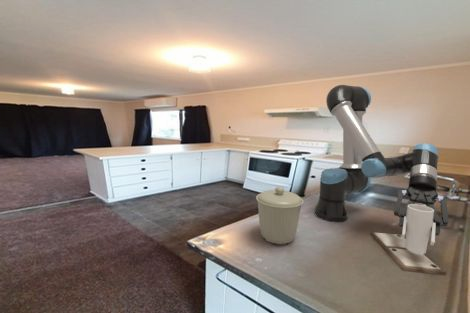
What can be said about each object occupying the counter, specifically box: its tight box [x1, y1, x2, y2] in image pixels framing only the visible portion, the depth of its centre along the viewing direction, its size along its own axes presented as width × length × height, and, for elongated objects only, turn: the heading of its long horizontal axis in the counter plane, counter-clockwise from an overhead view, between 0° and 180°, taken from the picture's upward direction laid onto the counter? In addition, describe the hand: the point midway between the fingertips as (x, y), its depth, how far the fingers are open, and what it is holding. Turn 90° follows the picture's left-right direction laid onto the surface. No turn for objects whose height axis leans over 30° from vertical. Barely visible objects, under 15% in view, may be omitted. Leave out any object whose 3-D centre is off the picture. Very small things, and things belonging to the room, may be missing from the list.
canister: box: [255, 186, 304, 245], centre depth 86 cm, size 18×18×21 cm
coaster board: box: [369, 231, 447, 275], centre depth 79 cm, size 12×23×2 cm, turn 171°
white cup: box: [405, 203, 434, 254], centre depth 71 cm, size 7×7×15 cm
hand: (417, 239), depth 69 cm, fingers closed on white cup, 6 cm apart
